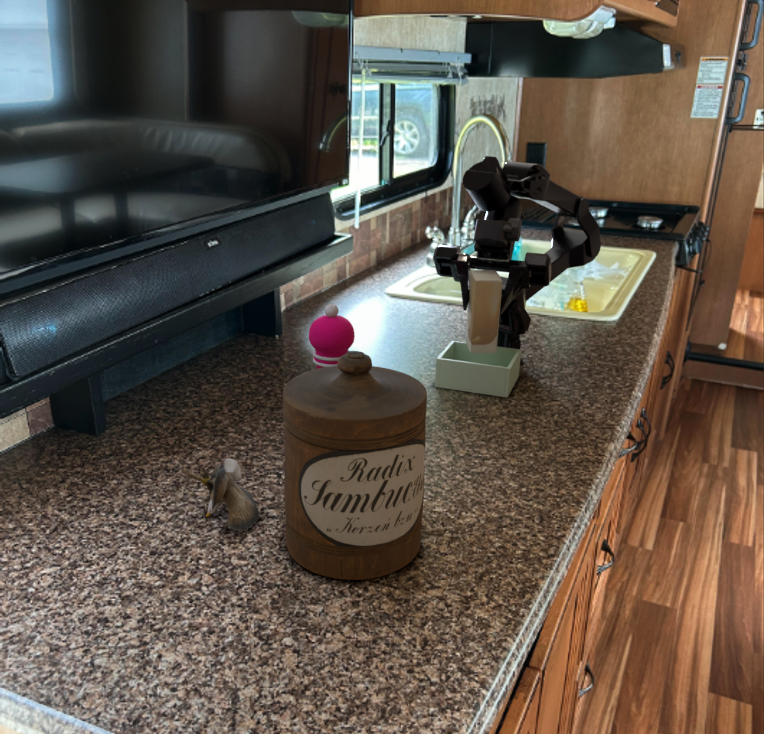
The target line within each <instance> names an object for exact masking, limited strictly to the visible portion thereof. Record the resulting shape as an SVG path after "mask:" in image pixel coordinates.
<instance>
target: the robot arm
mask: <svg viewBox="0 0 764 734" xmlns="http://www.w3.org/2000/svg"><path fill="white" fill-rule="evenodd" d="M461 181H462V185H463V187H464V189H465V190H466V192H467V193H468V195H469V196H470V197H471V200H473V203H475V205H476V207H477V208H478V209H479V210H480V211H482V212H486V213H485V216H484V219H483V218H482V219H481V218H479V219H476V222H475V227H474V234H473V241H474V245H473V251H474V252H476V254H475V255H470V254H469V253H467V252H462V251H461V246H457V245H448V244H447V245H445V244H439V245H438V246H437V247H436V248H434V251H433V255H432V259H433V263H434V264H433V265H434V267H435V271H436V274H437V276H440V277H442V278H443V277H444V278H445V277H446V278H452V279H453V281H454V282H456V283H459V284H460V291H461V292H460V293H461V300H462V308H463V309H462V310H463V311H467V310H468V303H469V283H470V270H496V272H497V273H498V272H501V273H508V276H507V277H505V276H501V275H499V276H500V278H501V279H502V293H501V304H500V316H499V328H498V340H497V347H505V348H513V349H520V350H521V343H522V339H521V338H520V337H521V335H525V334H526V332H528V331H529V329H530V326H531V322H532V318H531V317H530V315H529V313H528V312H527V309H526V305H527V302H528V300H530V299H531V298H532V297H534V296H535V295H536V294H537V293H539V292H540V291H541V290H543V289H544V288H545V287H548V286H550V283H551V282H552V281H554V280H555V279H556V278H558V277H559V276H560V275H561V274H563V273H564V272H566V270H568V269H572V268H578V267H579V268H580V267H584V266H586V265H588V264H589V263H591V262H593V261H594V260H595V259H596V258H597V257H598V256H599V254H600V252H601V247H602V240H601V233H600V232H601V231H600V226H599V223H598V222H597V220H595V218H594V215H592V213H591V211H590V206H589V201H588V199H587V198H585V197H584V196H582V195H581V196H580V195H578V194H576V193H574V192H572V191H571V190H569V189H567V188H565V187H563V186H562V185H561V184H558V183H556V182H554V181H553V180H551V173H550V172H549V171H548V170H547V169H546V168H545V167H544V166H543V165H542V164H541V163H534V162H533V163H532V162H525V161H524V162H522V161H515V160H514V161H513V160H508V161H505V164H504V165H503V167H501V164H500V161H499V160H498V158H497V156H492V155H484V158H483V160H481V161H479V162H476V163H475V164H473V165H472V166H471V167H469V169H466V171H465V172H464V174H463V176H462V180H461ZM520 199H523V200H525V199H526V200H530V201H532V202H535V203H536V204H539V205H540V206H542V207H545V208H547V209H549V210H551V211H553V212H555V215H556V218H555V221H554V223H553V224H552V227H551V230H550V233H551V246H550V248H549V249H548V250H547V251H546V252H544V253H541V252H540V253H539V252H528V251H527V252H526V253H525V254H524V260H517V259H516V260H515V259H512V258H513V255H514V248H515V245H516V242H520V238H521V234H522V233H521V232H522V221H524V220H525V219H526V214H525V211H524V210H523V208H524V207H523V203H522V202H521V201H520ZM565 218H570V219H571V218H572V219H576V222H577V224H578V225H579V227H580V228H581V229H578V228H573V227H572V228H571V227H565V226H564V225H565V224H564V221H565ZM523 361H524V358H523V357H521V358H520V363H521V362H523Z"/></svg>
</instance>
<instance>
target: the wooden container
mask: <svg viewBox="0 0 764 734" xmlns="http://www.w3.org/2000/svg"><path fill="white" fill-rule="evenodd" d="M427 406H428V391H427V388H426V387H425V386H424V384H423V383H422V382H421V381H419V380H418V379H417V378H415V377H413V376H411V375H409V374H407V373H405V372H402V371H399V370H395V369H393V368H392V369H391V368H387V367H381V366H375V365H373V362H372V358H371V356H369V355H368V354H366V353H365V352H363V351H359V350H349V352H347V353H346V354H344V355H342V356H341V357H340V358H339V360H338V363H337V366H330V367H323V368H319V369H316V368H315V369H311V370H308V371H305V372H302V373H301V374H298V375H297V376H294V377H293V378H292V379H291V380H289V381H288V382H287V383H286V384H285V386H284V388H283V392H282V414H283V415H282V418H283V423H284V424H283V425H284V428H283V430H284V432H283V433H284V485H283V486H284V487H283V491H284V493H283V495H284V497H283V499H284V514H285V520H284V521H285V523H284V524H285V543H286V549H287V551H288V553H289V555H290V557H291V558H292V559H293V561H295V562H296V563H297V564H298V565H300V566H301V567H303V568H304V569H305V570H308V571H310V572H312V573H315V574H317V575H320V576H323V577H327V578H331V579H337V580H346V581H348V580H349V581H358V580H359V581H360V580H370V579H374V578H379V577H384V576H388V575H390V574H393V573H395V572H397V571H399V570H401V569H402V568H404V567H406V566H407V565H409V564H410V563H411V562H412V561H413V560H414V558H416V557H417V554H418V553H419V550H420V548H421V543H422V542H421V540H422V528H423V527H422V526H423V514H424V513H423V512H424V501H425V500H424V499H425V498H424V497H425V474H426V473H425V472H426V471H425V467H426V465H425V463H426V462H425V461H426V437H427V436H426V434H427V433H426V432H427V430H426V429H427V424H426V420H427Z"/></svg>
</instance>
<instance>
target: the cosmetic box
mask: <svg viewBox="0 0 764 734" xmlns="http://www.w3.org/2000/svg"><path fill="white" fill-rule="evenodd" d="M500 276H501V275H500V274H499V273H498V271H496V270H478V269H471V270H470V283H469V303H468V306H467V314H466V315H467V316H466V331H465V342H466V343H467V346H468V348H469V351H470V353H496V352H497V340H498V328H499V316H500V304H501V293H502V279H501V278H500Z"/></svg>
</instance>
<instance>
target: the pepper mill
mask: <svg viewBox="0 0 764 734" xmlns="http://www.w3.org/2000/svg"><path fill="white" fill-rule="evenodd" d="M355 337H356V336H355V329H354V326H353V324H352V323H351V321H350V320H349V319H348V318H346V317H344V316H342V315H339V307H338V306H337V305H336V304H334V303H329V304H327V305H326V306H325V308H324V315H321V316H319V317H317V318H316V319H315V320H313V322H312V323H311V324H310V326H309V329H308V340H309V343H310V345H311V347H312V348H313V349H314V350H313V351H312V356H313V358H312V362H313V364H314V365H315V366H316V367H315V369H319V368H323V367H330V366H337V363H338V360H339V358H340V357H341V356H342V355H344V354H346V353H347V352H349V351H350V348H351V347H352V346H353V344H354V342H355Z"/></svg>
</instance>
